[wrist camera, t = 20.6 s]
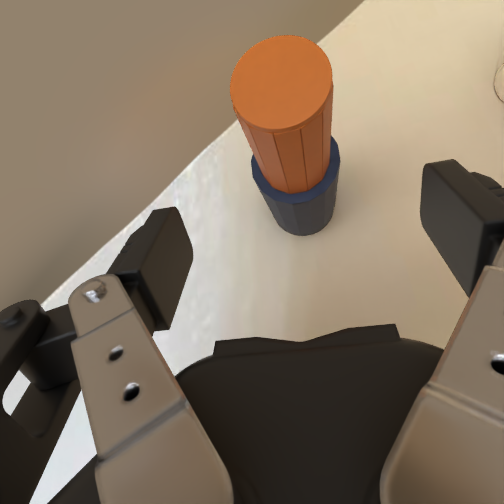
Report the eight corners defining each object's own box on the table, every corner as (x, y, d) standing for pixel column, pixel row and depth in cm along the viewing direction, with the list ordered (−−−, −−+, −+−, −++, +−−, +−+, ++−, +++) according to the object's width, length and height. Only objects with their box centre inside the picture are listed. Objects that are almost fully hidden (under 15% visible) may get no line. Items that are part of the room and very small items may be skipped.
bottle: (329, 172, 38) (334, 72, 22) (338, 230, 36) (351, 170, 20) (269, 183, 39) (232, 95, 23) (276, 240, 37) (243, 190, 22)
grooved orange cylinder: (323, 124, 26) (323, 23, 17) (333, 186, 25) (340, 116, 16) (258, 137, 27) (225, 48, 18) (265, 198, 26) (234, 138, 17)
